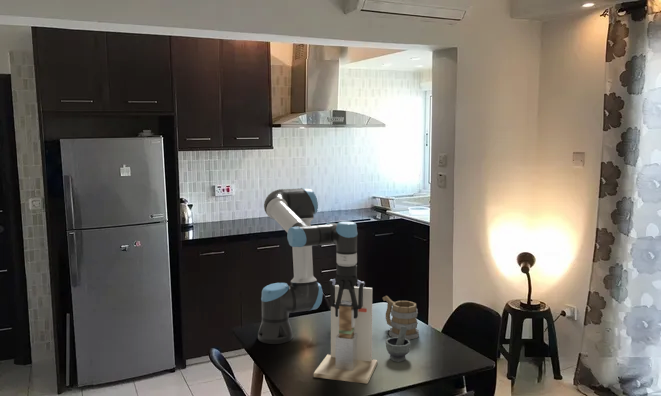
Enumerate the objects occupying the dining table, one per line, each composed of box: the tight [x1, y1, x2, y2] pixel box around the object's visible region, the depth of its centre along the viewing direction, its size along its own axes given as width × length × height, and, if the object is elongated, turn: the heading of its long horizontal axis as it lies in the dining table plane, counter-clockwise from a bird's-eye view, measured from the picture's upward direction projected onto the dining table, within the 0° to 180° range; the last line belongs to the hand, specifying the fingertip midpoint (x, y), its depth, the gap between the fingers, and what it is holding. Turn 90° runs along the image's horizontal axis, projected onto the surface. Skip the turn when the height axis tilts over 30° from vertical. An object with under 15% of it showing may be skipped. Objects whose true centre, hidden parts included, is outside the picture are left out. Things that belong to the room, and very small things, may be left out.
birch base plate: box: [313, 353, 378, 384], centre depth 204 cm, size 20×18×2 cm
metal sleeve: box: [336, 333, 357, 371], centre depth 203 cm, size 7×7×12 cm
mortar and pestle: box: [385, 326, 411, 363], centre depth 215 cm, size 11×9×12 cm
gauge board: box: [330, 284, 373, 361], centre depth 209 cm, size 16×2×28 cm, turn 74°
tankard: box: [382, 295, 420, 341], centre depth 244 cm, size 20×13×15 cm, turn 34°
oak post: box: [339, 300, 354, 338], centre depth 203 cm, size 5×5×24 cm
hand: (346, 325), depth 202 cm, fingers closed on oak post, 4 cm apart
